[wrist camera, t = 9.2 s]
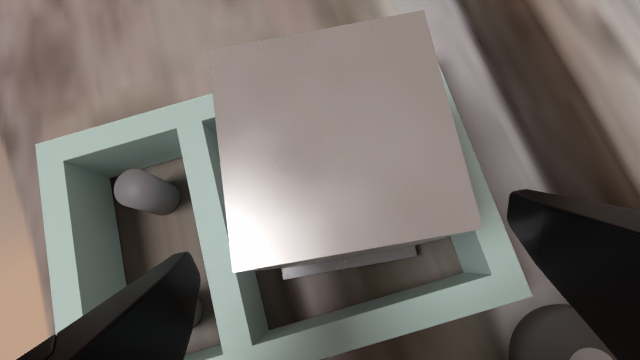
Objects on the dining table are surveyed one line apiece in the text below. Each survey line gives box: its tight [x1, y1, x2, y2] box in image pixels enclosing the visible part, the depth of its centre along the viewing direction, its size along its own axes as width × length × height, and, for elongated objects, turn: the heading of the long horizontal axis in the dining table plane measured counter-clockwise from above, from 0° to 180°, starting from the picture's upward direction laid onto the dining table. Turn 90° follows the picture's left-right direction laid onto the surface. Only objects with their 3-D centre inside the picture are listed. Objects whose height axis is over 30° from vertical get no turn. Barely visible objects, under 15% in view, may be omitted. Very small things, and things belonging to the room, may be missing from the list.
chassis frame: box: [35, 63, 533, 360], centre depth 17 cm, size 12×19×4 cm, turn 106°
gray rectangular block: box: [208, 10, 483, 280], centre depth 14 cm, size 6×6×11 cm
